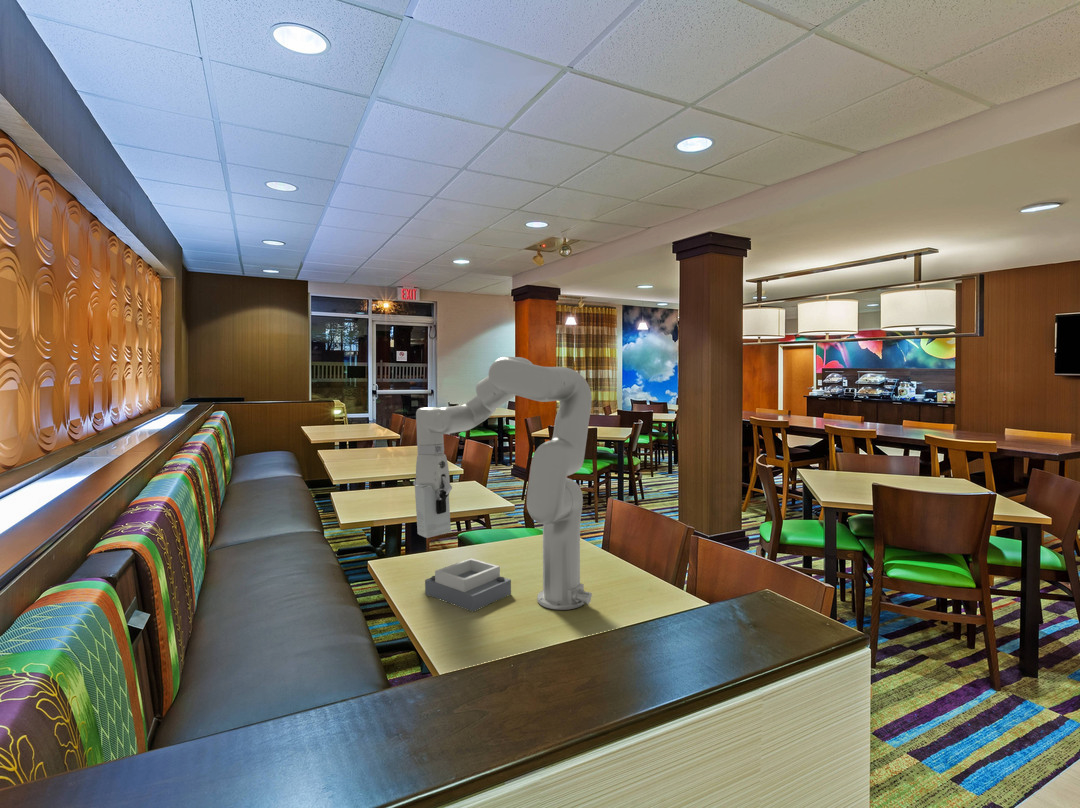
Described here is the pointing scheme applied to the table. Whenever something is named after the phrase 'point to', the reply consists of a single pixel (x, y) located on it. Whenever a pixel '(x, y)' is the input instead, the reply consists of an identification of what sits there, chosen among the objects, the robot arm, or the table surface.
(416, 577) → the table surface
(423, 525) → the skincare box
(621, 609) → the table surface
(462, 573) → the grey box holder
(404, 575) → the table surface
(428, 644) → the table surface
